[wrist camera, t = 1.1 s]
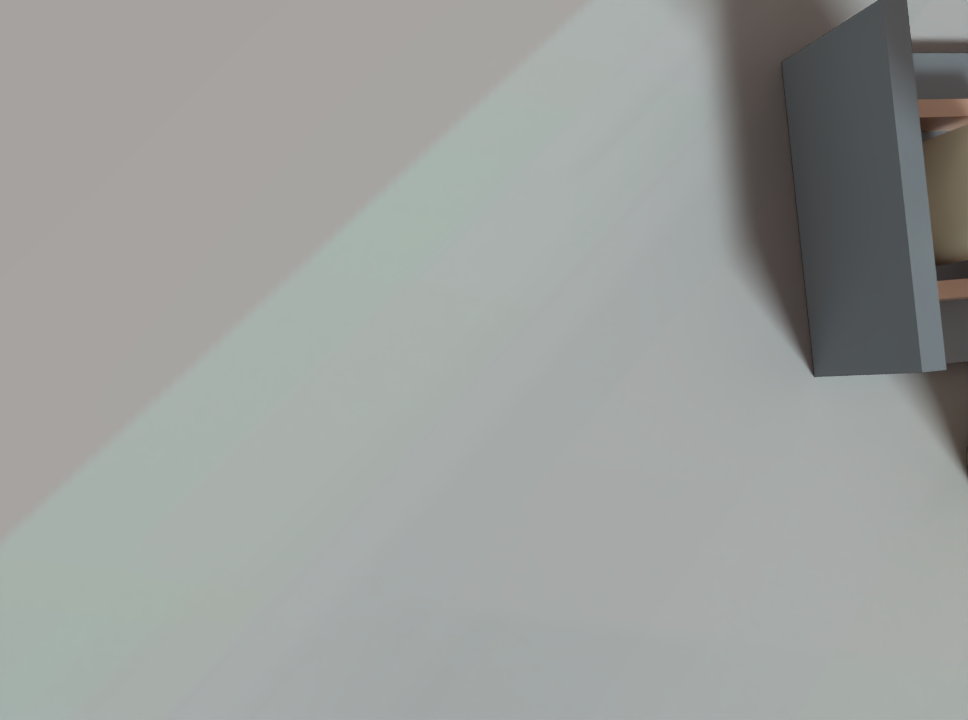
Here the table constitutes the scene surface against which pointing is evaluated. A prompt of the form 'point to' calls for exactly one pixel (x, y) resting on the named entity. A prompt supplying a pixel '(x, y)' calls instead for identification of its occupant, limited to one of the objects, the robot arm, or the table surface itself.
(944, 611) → the table surface
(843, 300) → the housing
